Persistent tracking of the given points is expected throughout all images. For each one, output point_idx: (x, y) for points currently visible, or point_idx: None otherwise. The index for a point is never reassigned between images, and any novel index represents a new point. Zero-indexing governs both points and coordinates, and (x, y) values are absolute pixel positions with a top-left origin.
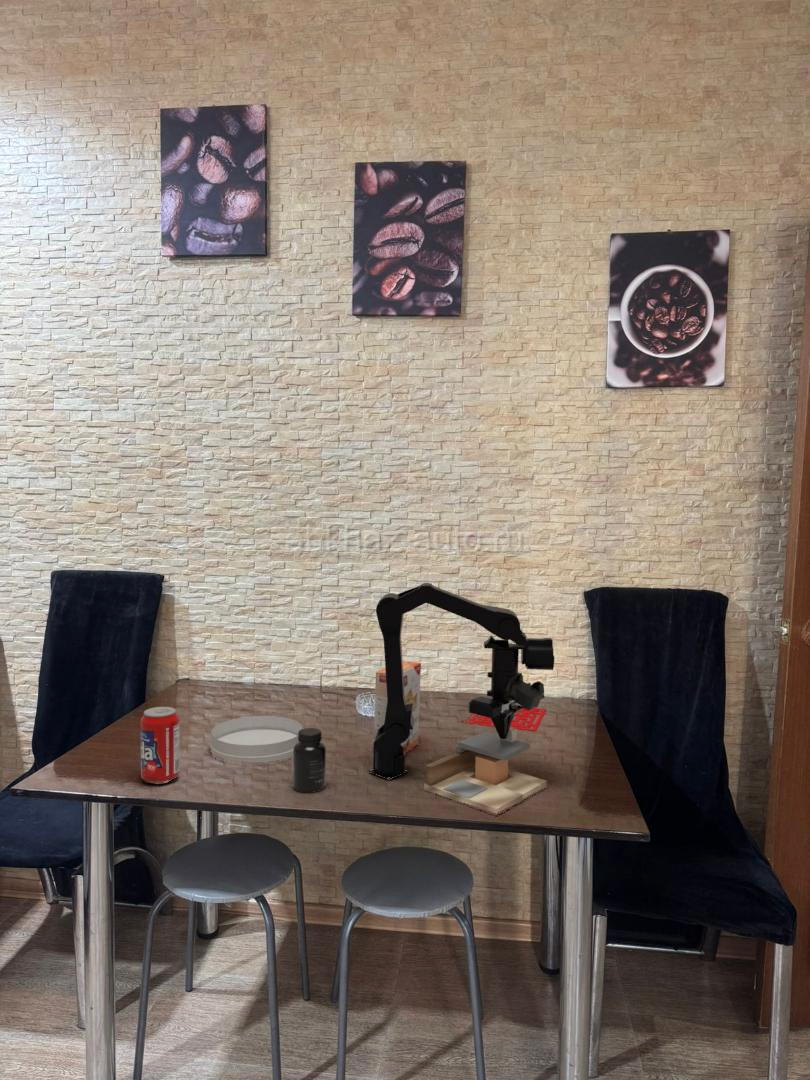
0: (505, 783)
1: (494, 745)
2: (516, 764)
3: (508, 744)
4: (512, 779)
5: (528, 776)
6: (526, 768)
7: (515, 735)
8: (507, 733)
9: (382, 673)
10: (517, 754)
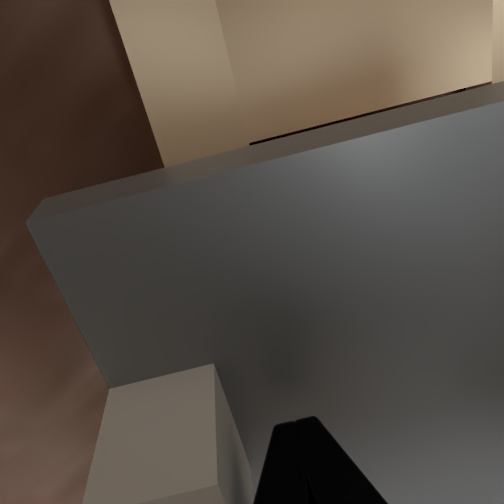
0: (409, 70)
1: (440, 374)
2: (26, 338)
3: (293, 333)
4: (308, 99)
5: (157, 73)
6: (2, 267)
7: (124, 433)
8: (270, 472)
9: None
10: (336, 124)
